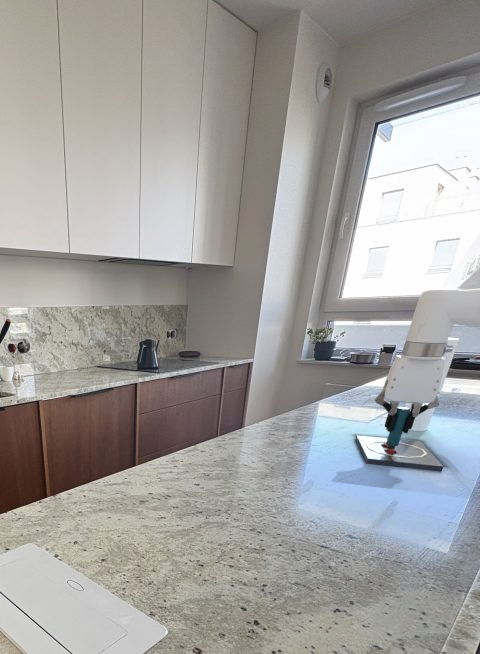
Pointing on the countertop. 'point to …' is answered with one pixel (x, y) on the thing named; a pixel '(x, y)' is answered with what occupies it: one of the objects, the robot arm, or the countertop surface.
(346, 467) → the countertop surface
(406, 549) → the countertop surface
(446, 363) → the cylindrical container
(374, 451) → the slate board
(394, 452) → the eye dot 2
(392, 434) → the marker
